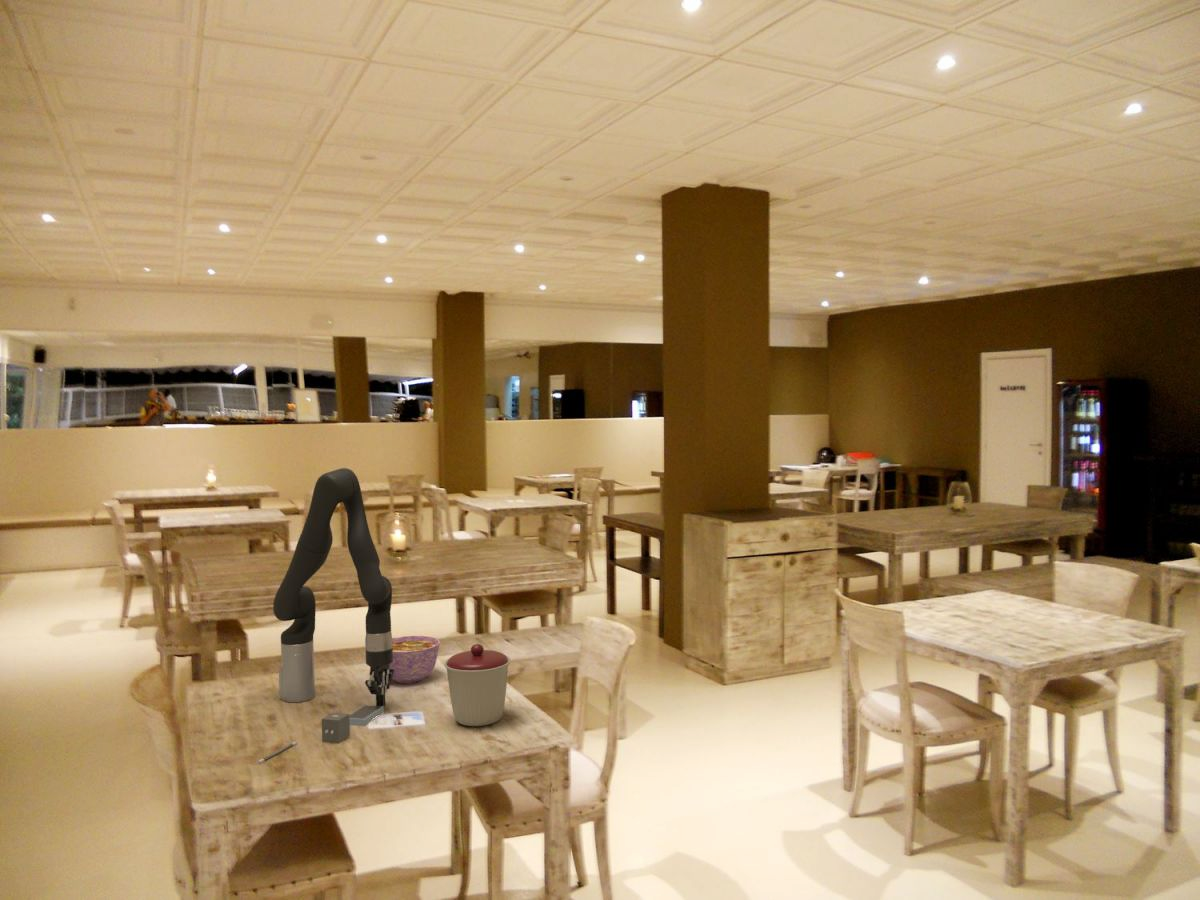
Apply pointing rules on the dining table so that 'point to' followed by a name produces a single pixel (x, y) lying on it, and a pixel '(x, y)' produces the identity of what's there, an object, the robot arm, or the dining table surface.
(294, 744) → the cable
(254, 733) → the dining table surface
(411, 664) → the bowl of food
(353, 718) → the phone
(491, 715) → the canister
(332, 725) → the charger
